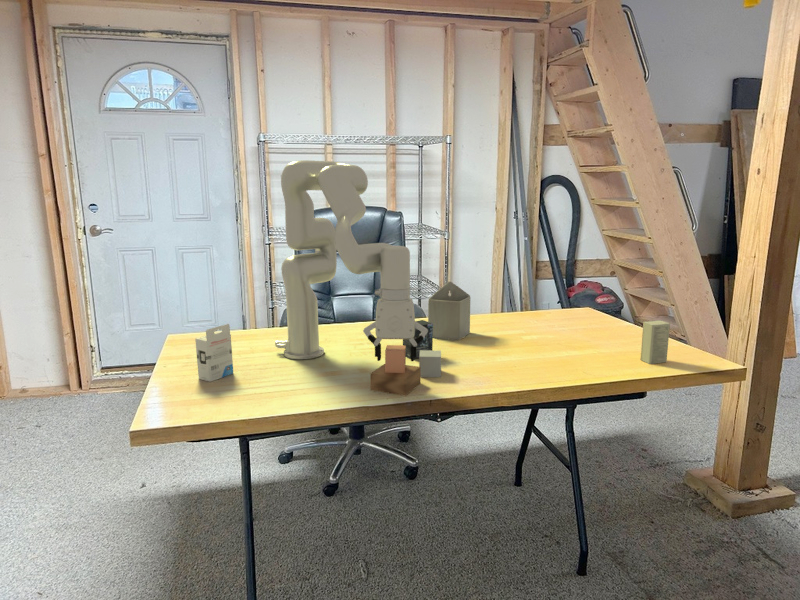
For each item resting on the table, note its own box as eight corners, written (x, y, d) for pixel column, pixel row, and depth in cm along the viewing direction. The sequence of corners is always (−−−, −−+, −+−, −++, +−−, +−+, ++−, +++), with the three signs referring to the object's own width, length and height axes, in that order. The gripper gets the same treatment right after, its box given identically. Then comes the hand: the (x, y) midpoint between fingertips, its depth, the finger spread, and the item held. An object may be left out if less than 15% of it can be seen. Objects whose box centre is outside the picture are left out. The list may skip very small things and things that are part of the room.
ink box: (222, 370, 163) (218, 321, 160) (234, 373, 161) (230, 323, 158) (197, 379, 156) (193, 327, 153) (209, 382, 153) (205, 329, 150)
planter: (437, 342, 191) (437, 286, 187) (427, 336, 198) (428, 282, 194) (479, 337, 197) (480, 283, 193) (469, 332, 204) (470, 279, 200)
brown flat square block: (370, 391, 147) (370, 373, 146) (386, 379, 156) (386, 362, 155) (405, 397, 143) (405, 378, 142) (420, 384, 152) (420, 366, 151)
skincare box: (657, 358, 172) (660, 319, 170) (667, 362, 168) (671, 323, 166) (639, 360, 171) (642, 321, 168) (649, 364, 167) (652, 324, 164)
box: (412, 360, 172) (412, 326, 170) (402, 355, 177) (402, 322, 175) (433, 355, 176) (433, 322, 174) (422, 351, 181) (422, 319, 179)
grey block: (419, 377, 157) (419, 356, 156) (419, 370, 163) (419, 350, 162) (440, 377, 157) (441, 356, 155) (440, 370, 162) (440, 350, 161)
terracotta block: (385, 372, 146) (385, 350, 145) (386, 366, 151) (386, 345, 150) (404, 373, 146) (404, 350, 145) (405, 367, 151) (405, 345, 150)
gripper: (359, 297, 141) (361, 363, 145) (429, 297, 140) (428, 364, 144) (363, 291, 149) (364, 355, 152) (429, 291, 148) (429, 355, 151)
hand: (395, 359), depth 148 cm, fingers open, 8 cm apart
